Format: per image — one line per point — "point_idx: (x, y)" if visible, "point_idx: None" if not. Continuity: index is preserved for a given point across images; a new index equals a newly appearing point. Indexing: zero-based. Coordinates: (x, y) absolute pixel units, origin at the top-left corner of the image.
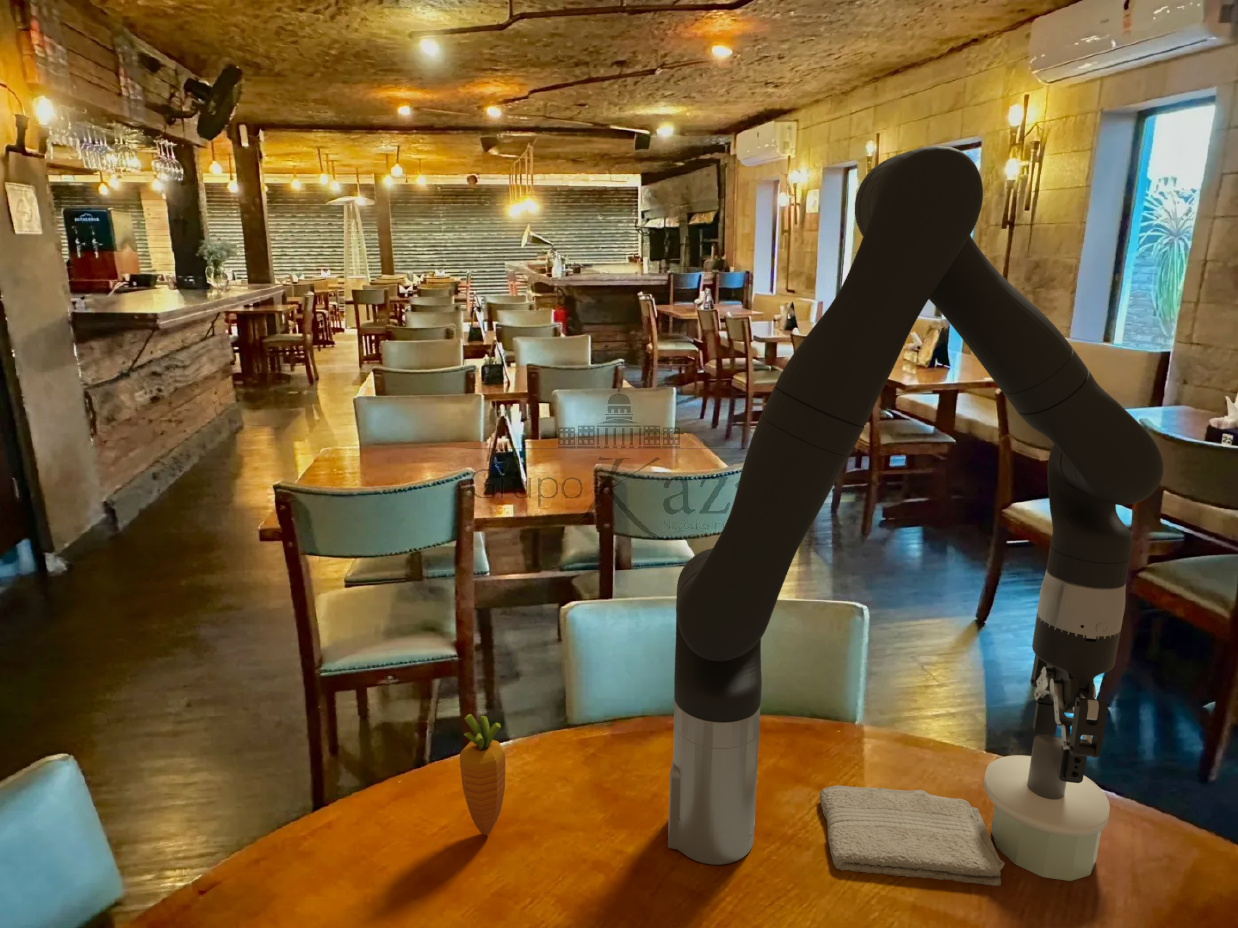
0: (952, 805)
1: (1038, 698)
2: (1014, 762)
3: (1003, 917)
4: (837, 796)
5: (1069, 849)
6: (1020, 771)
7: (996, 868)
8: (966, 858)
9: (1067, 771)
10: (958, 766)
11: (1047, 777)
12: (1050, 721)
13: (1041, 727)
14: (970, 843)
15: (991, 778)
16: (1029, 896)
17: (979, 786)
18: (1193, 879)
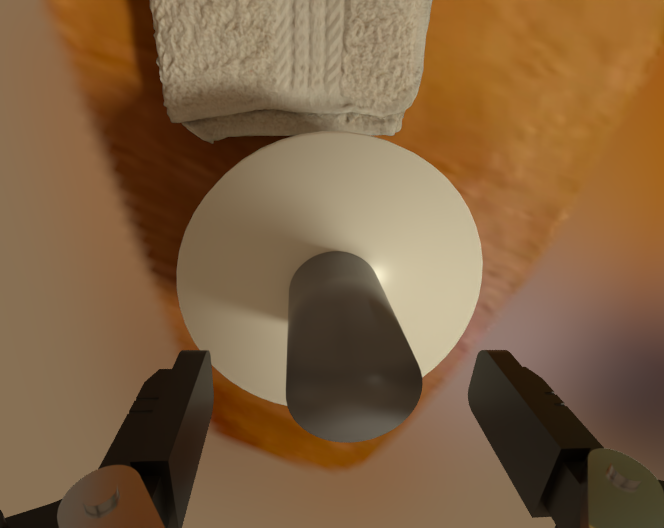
0: (384, 63)
1: (586, 474)
2: (448, 247)
3: (86, 102)
4: None
5: None
6: (406, 251)
7: (172, 113)
8: (177, 39)
9: (136, 397)
10: (566, 144)
11: (290, 312)
12: (496, 425)
13: (488, 379)
14: (240, 69)
15: (363, 154)
16: (168, 175)
17: (495, 173)
18: (282, 426)
